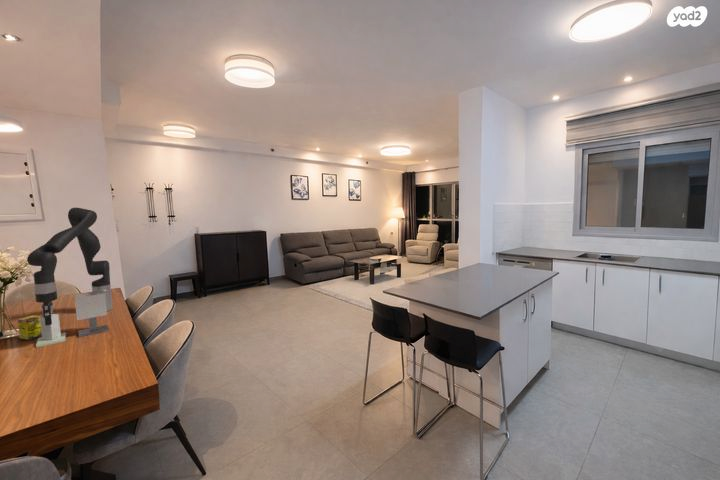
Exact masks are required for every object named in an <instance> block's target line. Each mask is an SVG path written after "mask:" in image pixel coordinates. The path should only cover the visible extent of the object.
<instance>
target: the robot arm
mask: <svg viewBox="0 0 720 480" xmlns="http://www.w3.org/2000/svg"><path fill="white" fill-rule="evenodd" d="M67 219H68V221H69V223H70V225H71V227H69V228H66V229H64V230H61V231H59V232H57V233H56V234H54V235H53V236H52V237H51V238H50V239H49V240H48V241H47V242H46V243H44V244H42V245H41V246H39V247H37V248H36V249H35V250H32V252H30V253H29V255H28V256H27V258H26V261H27V264H29V265H30V266H32V267H41V268H40V270H38V271H35V272H34V273H33V282H34V287H33V289H34V296H35V302H36V303H38V304H39V303H42V304H41V312H42V313H41V314H42V316H44V317H43V318H45V325H46V326H47V325H51V324H52V320H51V317H52V316H51V314H54V302H52V301H56V300H57V299H58V293H57V292H58V289H57V285H56V278H55V272H56V267H57V263H58V258H57V256H56V254H60V253H61V252H62V251H63V250H65V248H66V247H67V246H68V245H69V244H70V243H71V242H72V241H73V240H74V239H77V242H78V245H79V248H80V250H81V252H82V256H83V259H84V262H85V267H86V272H87V274H88V275H89V276H101V277H100V278H98V279H95V280H93V281H92V282H91V292H97V291H105V297H106V308H107V312H110V311H112V310H113V299H112V290H111V275H110V272H111V271H110V263H109V261H108V260H94V258H95V257H96V255H98V253H99V251H100V250H101V243H100V239H99V237H98V236H97V235H96V234H95V233H94V232H93V231H92V230H91V229H89V228H90V227H92V226H93V225H94V224H95V223H96V221H97V219H98V215H97V212H96V211H94V210H91V209H87V208H84V207H83V208H81V207H72V208H70V209H69V210H68V212H67ZM47 314H49V315H47Z"/></svg>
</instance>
